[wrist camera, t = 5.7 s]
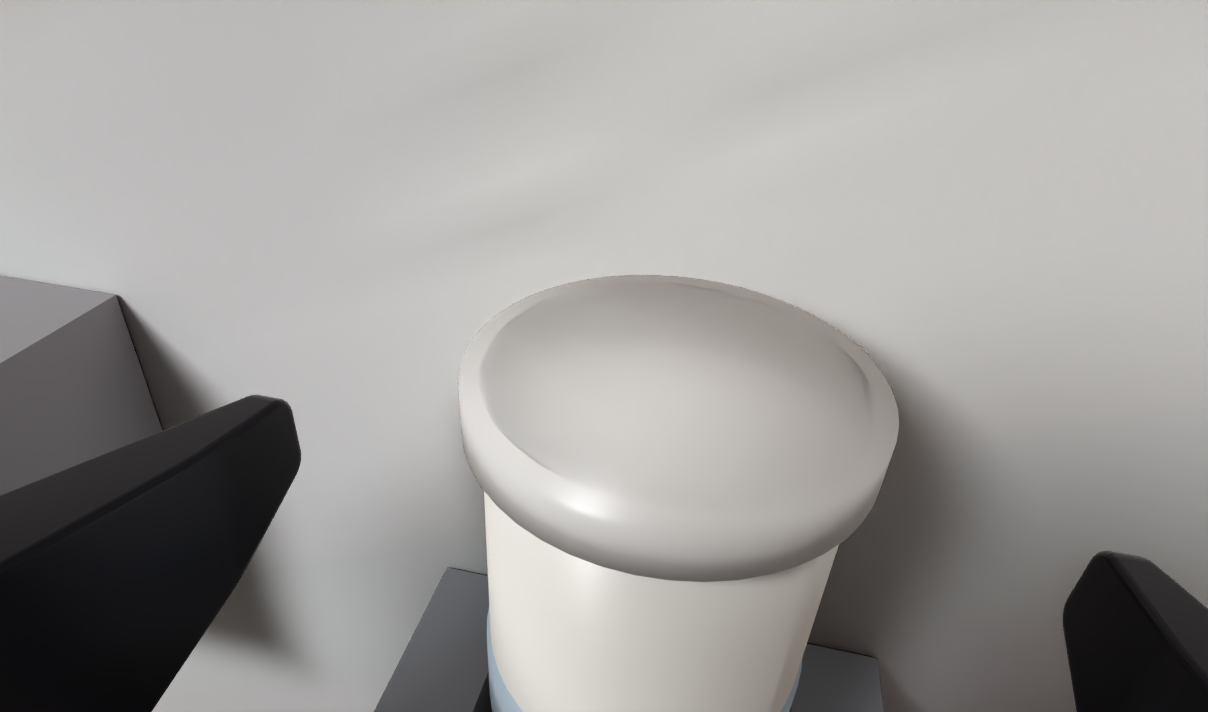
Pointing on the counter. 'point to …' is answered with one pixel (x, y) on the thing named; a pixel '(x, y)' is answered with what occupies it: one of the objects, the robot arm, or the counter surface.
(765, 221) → the counter surface
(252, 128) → the counter surface
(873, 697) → the housing
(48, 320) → the button collar
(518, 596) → the cartridge
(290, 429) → the robot arm
